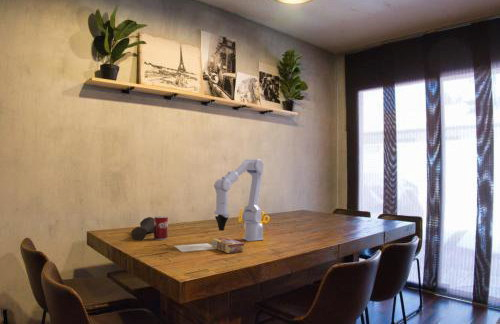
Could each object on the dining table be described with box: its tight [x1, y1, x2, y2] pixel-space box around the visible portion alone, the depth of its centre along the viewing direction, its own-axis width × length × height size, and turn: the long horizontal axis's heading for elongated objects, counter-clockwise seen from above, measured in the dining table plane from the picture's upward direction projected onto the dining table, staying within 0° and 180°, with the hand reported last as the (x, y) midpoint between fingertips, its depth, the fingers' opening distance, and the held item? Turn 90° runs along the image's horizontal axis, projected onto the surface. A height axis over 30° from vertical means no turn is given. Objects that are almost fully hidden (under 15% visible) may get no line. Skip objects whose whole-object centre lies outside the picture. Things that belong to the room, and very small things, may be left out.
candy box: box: [211, 237, 245, 254], centre depth 160 cm, size 9×4×15 cm
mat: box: [174, 242, 217, 253], centre depth 163 cm, size 17×13×1 cm
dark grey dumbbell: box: [131, 216, 154, 241], centre depth 192 cm, size 11×10×28 cm
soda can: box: [153, 215, 169, 241], centre depth 183 cm, size 7×7×12 cm
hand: (221, 230), depth 169 cm, fingers closed
